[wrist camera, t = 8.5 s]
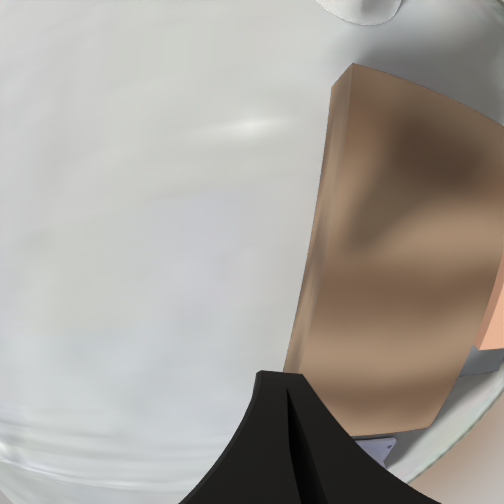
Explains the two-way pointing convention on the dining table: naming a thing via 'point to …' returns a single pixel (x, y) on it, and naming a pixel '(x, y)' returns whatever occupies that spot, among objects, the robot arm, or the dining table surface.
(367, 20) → the beer glass
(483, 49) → the dining table surface
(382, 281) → the brown wooden block
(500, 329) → the tile
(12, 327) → the dining table surface
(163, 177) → the dining table surface
